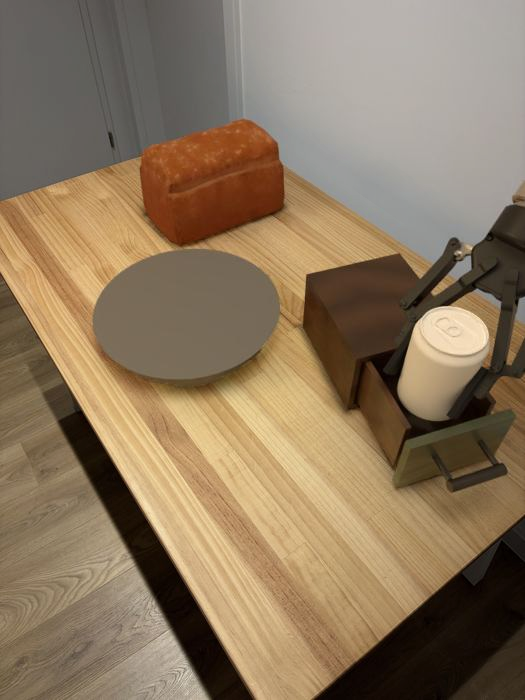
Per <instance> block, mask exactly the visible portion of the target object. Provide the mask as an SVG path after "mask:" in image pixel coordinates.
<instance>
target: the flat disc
mask: <svg viewBox="0 0 525 700" xmlns="http://www.w3.org/2000/svg"><path fill="white" fill-rule="evenodd" d="M280 316H281V301H280V296H279V293H278V290H277V288H276V285H275V284H274V282H273V281H272V279H271V278H270V277H269V275H268V274H267V273H266V272H264V270H263V269H261V268H260V267H259V266H257V265H256V264H254V263H253V262H252V261H250V260H248V259H246V258H243V257H241V256H239V255H237V254H233V253H230V252H226V251H222V250H217V249H209V248H181V249H174V250H168V251H163V252H160V253H157V254H154V255H149V256H148V257H145V258H142V259H140V260H139V261H136V262H135V263H132V264H130V265H129V266H128V267H126V268H124V269H122V270H121V271H120V272H119V273H118V274H116V275H115V276H113V278H112V279H111V280H110V281H109V282H108V283H107V284H106V285H105V287H104V288H103V290H101V292H100V294H99V296H98V298H97V299H96V302H95V305H94V307H93V311H92V328H93V329H92V330H93V334H94V336H95V339H96V341H97V343H98V345H99V346H100V347H101V349H102V350H103V352H104V353H105V354H106V355H107V356H108V357H109V358H110V359H111V360H113V361H114V362H115V363H117V364H118V365H120V366H121V367H123V368H125V369H126V370H127V371H128V372H130V373H132V374H133V375H134V376H135V377H138V378H141V379H142V380H146V381H149V382H150V381H151V382H155V383H159V384H165V385H169V386H171V387H179V388H182V389H183V388H191V387H193V388H195V387H197V388H198V387H201V386H205V385H209V384H211V383H215V382H218V381H219V380H221V379H222V378H224V377H226V376H228V375H231V374H233V373H234V372H237V371H239V370H240V369H242V368H243V367H244V366H245V365H247V364H248V363H250V362H251V361H252V360H254V359H255V358H256V357H257V356H258V355H259V354H260V352H261V351H262V349H263V348H264V346H266V344H267V343H268V341H270V339H271V337H272V336H273V334H274V332H275V330H276V328H277V326H278V324H279V319H280Z"/></svg>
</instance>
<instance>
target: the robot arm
mask: <svg viewBox="0 0 525 700" xmlns="http://www.w3.org/2000/svg"><path fill="white" fill-rule="evenodd" d="M511 201H512V204H509V205H506V206H504V208H503V210H502V211H501V212H500V214H499V215H498V217H497V219H496V220H495V222H494V223H493V225H492V226H491V228H490V229H489V230H488V232H487V234H486V235H485V237H484V238H483V239H482V240H481V241H479V242H476V243H475V244H474V245H473V244H469V243H467V242H463V241H461V240H459V238H458V237H455V236H454V237H450V238H449V240H448V241H447V244H446V246H445V248H444V250H443V252H442V255H441V256H439V258H438V259H437V260H436V261H435V262H434V263H433V265H431V266H430V268H428V270H427V271H426V272H425V273H424V274H423V275H422V277H420V280H419V281H418V282H417V283H416V284H415V285H414V286H413V287H412V289H411V290H410V291H409V292H408V293H407V294H406V295H405V296H404V297H403V298H402V299H401V301H400V302H399V306H400V308H402V309H403V311H404V312H405V313H406V315H407V320H406V322H405V324H404V325H403V327H402V328H401V330H400V331H399V333H398V334H397V336H396V337H395V339H394V343H395V344H396V345H398V346H399V347H398V348H397V350H396V351H395V353H394V354H393V356H392V357H391V359H390V360H389V362H388V363H387V365H386V366H385V368H384V369H383V371H384V372H385V373H387V374H389V375H394V376H395V375H396V373H397V372H398V370H399V369H400V367H401V366H402V364H403V363H404V361H405V357H406V354H407V350H408V347H409V343H410V340H411V336H412V333H413V329H414V327H415V325H416V323H417V322H418V321H419V320H420V319H421V318H422V317H423V316H424V315H425V314H426V313H427V312H428V311H430V310H432V309H434V308H437V307H443V306H452V304H454V303H455V302H457V301H459V300H460V299H461V298H463V297H465V296H466V295H468V294H471V293H473V292H474V291H476V290H477V289H478V290H479V291H481V292H482V293H485V294H490V295H492V297H494V298H495V300H497V301H499V302H500V310H499V311H500V312H499V318H498V322H497V328H496V332H495V338H494V344H493V348H492V354H491V359H490V363H489V364H490V365H488V368H487V367H485V366H481V368H480V369H479V370H478V372H477V373H476V374H475V375H474V376H473V378H472V379H471V381H470V382H469V383H468V385H467V386H466V388H465V389H464V391H463V392H462V393H461V395H460V396H459V398H458V399H457V400H456V402H455V403H454V405H453V406H452V407H451V409H450V410H449V412H448V413H447V414H446V416H448V417H449V418H451V419H458V417H459V416H460V415H461V413H462V412H463V410H464V409H465V408H466V406H467V405H468V403H469V402H470V401H471V399H472V398H473V397H474V396H475V397H476V398H478V399H483V398H485V397H486V396H487V394H488V393H489V392H490V393H491V390H492V389H493V388H494V386H495V385H496V383H497V382H498V381H499V379H501V378H502V377H506V378H507V377H508V378H513V379H516V380H520V379H522V378H523V377H524V376H525V337H524V338H523V340H522V342H521V344H520V346H519V348H518V350H517V353H516V355H515V357H514V358H513V361H512V363H511V364H508V358H509V352H510V347H511V342H512V337H513V332H514V326H515V322H516V321H515V320H516V316H517V313H518V308H519V305H520V304H519V303H520V299H522V298H524V297H525V178H524V179H523V180H522V182H521V183H520V184H519V186H518V187H517V189H516V190H515V192H514V194H513V195H511ZM467 257H470V264H471V265H470V268H471V269H470V270H469V271H467V272H465V273H464V274H463V275H461V276H459V278H458V279H457V280H456V281H455V282H453V283H451V284H450V285H449V286H447V287H445V289H443V290H442V291H440V292H439V293H437V294H435V295H433V296H434V297H433V298H431V299H430V300H428V301H427V302H425V303H424V304H422V305H421V306H419V307H418V308H416V307H417V306H418V305H419V304H420V303H421V302H422V301H423V300H424V299H425V298H426V297H427V296H428V295H429V294H430V292H431V293H432V292H433V290H435V288H436V287H437V286H438V285H439V284H440V283H441V282H442V281H443V280H444V279H445V277H447V276H448V274H449V273H450V272H452V270H453V269H454V268H455V267H456V265H457V264H458V263H461V262H463V261H464V260H465V259H466V258H467Z"/></svg>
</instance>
